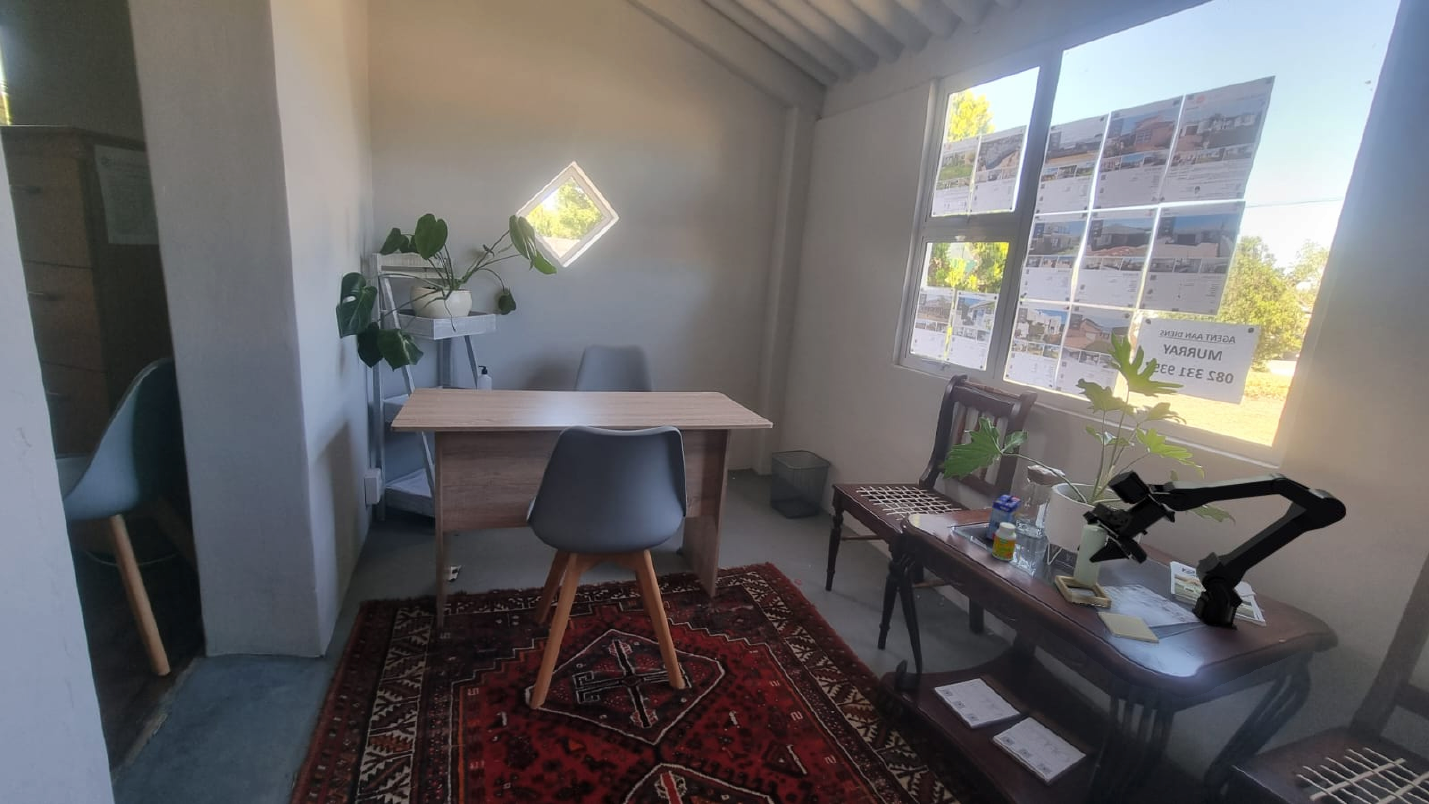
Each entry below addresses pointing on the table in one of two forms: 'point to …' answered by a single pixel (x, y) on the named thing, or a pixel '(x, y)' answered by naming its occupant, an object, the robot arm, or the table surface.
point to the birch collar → (1077, 598)
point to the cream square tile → (1127, 627)
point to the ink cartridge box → (1003, 513)
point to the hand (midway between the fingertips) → (1084, 556)
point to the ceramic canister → (1089, 554)
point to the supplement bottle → (1004, 542)
